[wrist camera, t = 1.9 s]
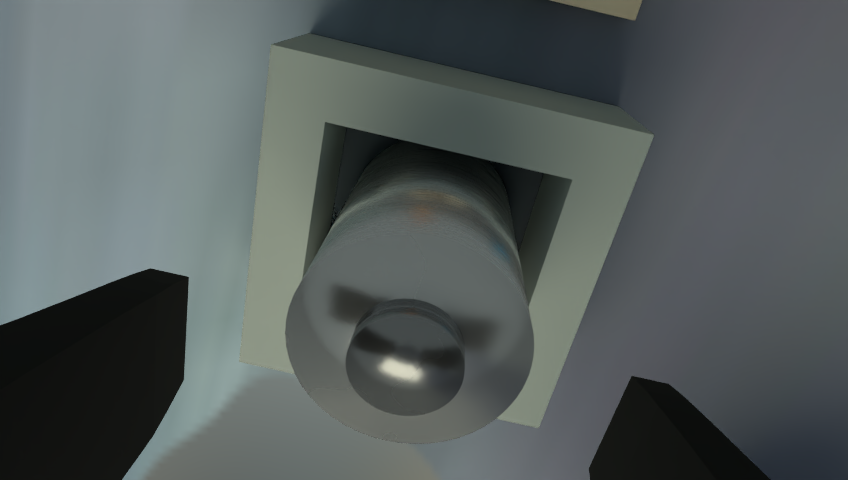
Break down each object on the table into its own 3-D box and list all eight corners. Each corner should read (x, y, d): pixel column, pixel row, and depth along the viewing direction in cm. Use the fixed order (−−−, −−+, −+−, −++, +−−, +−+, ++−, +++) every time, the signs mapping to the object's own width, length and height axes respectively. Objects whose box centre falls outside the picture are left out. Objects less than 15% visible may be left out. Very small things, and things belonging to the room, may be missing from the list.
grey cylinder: (529, 157, 15) (574, 285, 9) (486, 297, 17) (497, 489, 10) (367, 119, 15) (290, 220, 9) (341, 264, 17) (262, 438, 10)
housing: (619, 106, 14) (654, 134, 12) (527, 359, 18) (538, 428, 15) (308, 33, 14) (270, 44, 11) (274, 302, 17) (239, 361, 15)
